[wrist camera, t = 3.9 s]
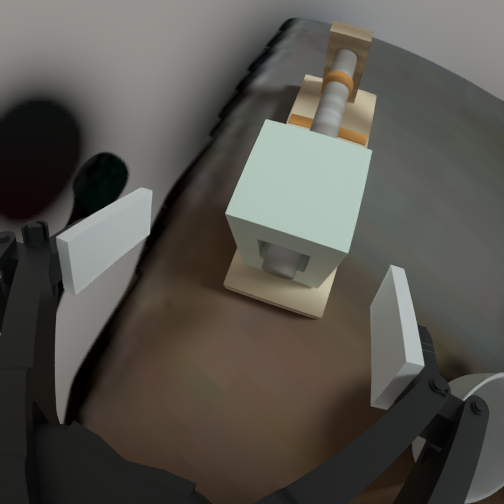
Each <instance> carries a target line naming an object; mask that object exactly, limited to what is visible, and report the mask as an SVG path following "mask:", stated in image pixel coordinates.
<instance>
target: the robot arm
mask: <svg viewBox="0 0 504 504" xmlns="http://www.w3.org/2000/svg"><path fill="white" fill-rule="evenodd" d="M151 205H152V190H148V189H145V188H139V189H138V190H136V191H134V192H132V193H130V194H128V195H126V196H125V197H123V198H121V199H119V200H117V201H115V202H114V203H112V204H110V205H108V206H106V207H105V208H103V209H101V210H99V211H98V212H96V213H94V214H93V215H91V216H89V217H85V218H82V219H79V220H77V221H76V222H74V223H72V225H69V226H67V227H66V228H64V229H62V230H61V231H59V232H58V233H56V234H54V235H53V236H51V237H50V238H49V231H48V223H47V222H45V221H43V220H34V221H30V222H28V223H26V224H24V225H23V226H22V228H21V230H22V236H23V241H24V243H19V242H16V237H15V233H13V232H10V231H4V232H1V233H0V275H1V278H0V333H1V335H0V504H212V503H211V502H210V501H209V500H208V499H207V498H205V497H204V496H203V495H202V494H200V493H199V492H198V491H196V490H195V485H196V483H193V482H191V481H188V480H186V479H183V478H181V477H179V476H176V475H174V474H172V473H169V472H167V471H165V470H163V469H158V468H153V467H149V466H145V465H141V464H137V463H133V462H129V461H127V460H125V459H123V458H122V457H121V456H120V455H119V454H118V453H117V452H116V451H115V450H113V449H112V448H111V447H110V446H109V445H108V444H107V443H106V442H105V441H104V440H103V439H102V438H101V437H100V436H98V435H96V434H95V433H93V432H91V431H90V430H88V429H87V428H85V427H83V426H82V425H80V424H79V423H77V422H76V421H73V423H72V424H71V425H70V426H67V425H63V424H60V422H59V419H58V416H57V411H56V397H55V327H56V311H57V298H58V285H57V283H58V282H59V281H60V280H63V285H64V290H66V291H68V292H70V293H72V294H74V295H77V294H78V293H79V292H81V291H82V290H83V289H84V288H85V287H86V286H87V285H88V284H90V283H91V282H92V281H93V280H94V279H96V278H97V277H98V276H99V275H100V274H102V273H103V272H104V271H105V270H106V269H107V268H109V267H110V266H111V265H112V264H113V263H115V262H116V261H117V260H118V259H120V258H121V257H122V256H123V255H124V254H126V253H127V252H128V251H129V250H131V249H132V248H133V247H134V246H136V245H137V244H138V243H139V242H141V241H142V240H143V239H144V238H146V237H147V236H148V235H149V234H150V224H151ZM370 316H371V406H372V407H376V408H381V409H385V410H388V409H389V407H390V406H391V405H392V404H393V403H394V402H395V406H394V407H393V408H392V409H390V410H389V411H388V412H387V413H386V414H385V415H384V416H383V417H381V418H380V419H379V420H378V421H377V422H376V423H374V424H373V425H372V426H371V427H370V428H368V429H367V430H366V431H365V432H364V433H362V434H361V435H360V436H359V437H357V438H356V439H355V440H353V441H352V442H351V443H350V444H348V445H347V446H346V447H344V448H343V449H342V450H340V451H339V452H338V453H336V454H335V455H334V456H332V457H331V458H329V459H328V460H327V461H325V462H324V463H322V464H321V465H319V466H318V467H316V468H315V469H313V470H312V471H310V472H309V473H307V474H306V475H304V476H303V477H301V478H300V479H298V480H296V481H295V482H293V483H292V484H290V485H288V486H287V487H285V488H283V489H280V490H278V491H276V492H274V493H272V494H270V495H268V496H266V497H264V498H263V499H261V500H259V501H257V502H255V503H253V504H347V503H348V502H350V501H351V500H352V499H353V498H354V497H356V496H357V495H358V494H359V493H360V492H361V491H363V490H364V489H365V488H366V487H367V486H368V485H369V484H371V483H372V482H373V481H374V480H375V479H376V478H377V477H378V476H379V475H380V474H381V473H382V472H383V471H385V470H386V469H387V468H388V467H389V466H390V465H391V464H392V463H393V462H394V461H395V460H396V459H397V458H398V457H399V456H400V455H401V454H402V453H403V451H404V450H405V449H406V448H407V447H408V446H409V445H410V444H411V443H412V442H413V441H414V440H415V439H416V437H417V436H420V437H421V438H423V439H425V440H426V442H425V444H424V446H423V448H422V450H421V452H420V454H419V456H418V459H417V461H416V463H415V465H414V467H413V468H412V470H411V472H410V474H409V476H408V478H407V480H406V482H405V484H404V485H403V487H402V489H401V491H400V492H399V494H398V496H397V498H396V499H395V501H394V503H393V504H464V503H465V500H466V497H467V495H468V492H469V489H470V486H471V483H472V480H473V477H474V474H475V471H476V467H477V464H478V461H479V457H480V453H481V450H482V446H483V442H484V438H485V433H486V429H487V424H488V419H489V408H488V405H487V404H486V402H485V401H484V400H483V399H482V398H481V397H479V396H477V395H471V396H469V397H468V398H467V399H466V400H465V401H463V400H461V399H459V398H457V397H456V396H454V395H452V394H451V388H450V386H449V384H448V382H447V381H446V380H445V379H444V378H443V377H441V376H440V375H439V372H438V367H437V362H436V357H435V353H434V347H433V343H432V338H431V335H430V334H429V332H428V331H427V329H426V327H423V326H419V325H417V322H416V317H415V313H414V308H413V304H412V300H411V295H410V291H409V287H408V283H407V279H406V275H405V272H404V269H402V268H399V267H396V266H393V265H390V267H389V269H388V272H387V274H386V276H385V278H384V280H383V282H382V284H381V286H380V288H379V290H378V292H377V294H376V296H375V298H374V300H373V302H372V304H371V306H370Z"/></svg>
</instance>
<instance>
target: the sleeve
mask: <svg viewBox="0 0 504 504" xmlns="http://www.w3.org/2000/svg"><path fill="white" fill-rule="evenodd" d="M371 153H372V150H369V149H366V148H363V147H360V146H357V145H354V144H351V143H348V142H345V141H342V140H339V139H336V138H333V137H329V136H326V135H323V134H319V133H316V132H313V131H309V130H306V129H302V128H298V127H295V126H291V125H287V124H283V123H279V122H275V121H271V120H267V119H266V120H265V122H264V125H263V127H262V129H261V131H260V134H259V136H258V138H257V140H256V143H255V145H254V147H253V149H252V152H251V154H250V156H249V159H248V161H247V163H246V165H245V168H244V170H243V172H242V175H241V177H240V179H239V182H238V184H237V186H236V189H235V191H234V194H233V196H232V198H231V201H230V203H229V205H228V208H227V210H226V213H225V215H226V218H227V220H228V223H229V226H230V228H231V231H232V234H233V237H234V239H235V242H236V245H237V248H238V250H239V253H240V256H241V258H242V261H243V264H245V265H248V266H251V267H254V268H257V269H260V270H263V269H262V268H261V267H262V264H263V261H264V259H265V256H266V253H267V250H268V248H269V245H270V243H271V244H274V245H277V246H280V247H283V248H286V249H289V250H292V251H295V252H299V253H302V256H301V259H300V262H299V265H298V268H297V271H296V274H295V277H294V279H292V280H293V281H296V282H299V283H302V284H305V285H308V286H311V287H314V288H317V289H318V288H319V287H320V286H321V285H322V283H323V282H324V281H325V280H326V279H327V278H328V277H329V275H330V274H331V273H332V272H333V271H334V269H335V268H336V267H337V266H338V265H339V264H340V262H341V261H342V260H343V259H344V258H345V256H346V255H347V254H348V252H349V248H350V244H351V241H352V237H353V233H354V229H355V225H356V221H357V217H358V213H359V209H360V204H361V200H362V196H363V191H364V187H365V182H366V178H367V173H368V168H369V163H370V159H371ZM263 271H264V270H263Z"/></svg>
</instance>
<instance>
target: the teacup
mask: <svg viewBox="0 0 504 504" xmlns="http://www.w3.org/2000/svg"><path fill="white" fill-rule="evenodd" d="M448 384H449V386H450V388H451V394H452V395H454V396H456V397H457V398H459V399H461V400H463V401H465V400H466V399H467V398H468V397H469V396H471V395H477V396H479V397H481V398H482V399H483V400H484V401H485V402H486V404H487V405H488V408H489V419H488V424H487V429H486V433H485V438H484V442H483V446H482V450H481V453H480V457H479V461H478V464H477V467H476V471H475V474H474V477H473V480H472V483H471V486H470V489H469V492H468V495H467V497H466V500H465V503H464V504H467V503H473V502H477V501H480V500H482V499H484V498H487V497H489V496H490V495H492V494H494V493H495V492H497V491H498V490H499V489H500V488H502V487H503V486H504V372H499V373H496V374H491V373H481V374H470V375H465V376H462V377H459V378H456V379H454V380H452V381H450V382H449V383H448ZM425 442H426V440H425V439H423V438H421V437H420V436H417V437H416V439H415V440H414V441H413V442H412V452H413V457H414V461H415V463H416V461H417V459H418V456H419V454H420V452H421V450H422V448H423V446H424V444H425Z"/></svg>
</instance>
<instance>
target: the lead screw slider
mask: <svg viewBox="0 0 504 504" xmlns="http://www.w3.org/2000/svg"><path fill="white" fill-rule="evenodd" d="M372 34H373V32H372V31H369V30H366V29H363V28H359V27H355V26H352V25H348V24H344V23H341V22H337V21H334V22H333V24H332V27H331V29H330V34H329V41H328V49H327V55H326V62H325V69H324V76H323V79H322V78H318V77H314V76H310V75H306V76H305V78H304V81H303V83H302V86H301V88H300V90H299V93H298V95H297V98H296V100H295V103H294V105H293V108H292V110H291V113H290V115H289V118H288V120H287V122H286V124H287V125H291V126H295V127H298V128H302V129H306V130H309V131H313V132H316V133H319V134H323V135H326V136H329V137H333V138H336V139H339V140H342V141H345V142H348V143H351V144H354V145H357V146H360V147H363V148H366V149H367V145H368V140H369V135H370V129H371V124H372V119H373V113H374V108H375V102H376V96H377V95H374V94H371V93H368V92H365V91H362V90H359V89H358V88H359V85H360V81H361V77H362V74H363V70H364V67H365V63H366V59H367V56H368V52H369V48H370V44H371V40H372ZM301 256H302V253H299V252H295V251H292V250H289V249H286V248H283V247H280V246H277V245H274V244H271V243H270V245H269V248H268V250H267V253H266V256H265V259H264V261H263V264H262V267H261V268H262V269H263V270H264V271H263V270H260V269H257V268H254V267H251V266H248V265H245V264H243V261H242V258H241V256H240V253H239V250H238V248H237V249H236V252H235V255H234V257H233V260H232V262H231V265H230V268H229V270H228V273H227V276H226V278H225V281H224V283H223V285H224V286H225V287H226V289H229V290H232V291H234V292H237V293H240V294H243V295H246V296H249V297H251V298H254V299H257V300H260V301H263V302H266V303H269V304H272V305H275V306H278V307H281V308H284V309H286V310H289V311H292V312H295V313H299V314H302V315H305V316H308V317H311V318H314V319H317V320H318V319H321V318H322V315H323V312H324V309H325V306H326V302H327V299H328V296H329V293H330V290H331V286H332V283H333V280H334V276H335V273H336V270H337V267H336V268H335V269H334V271H333V272H332V273H331V274H330V275H329V277H328V278H327V279H326V280H325V281H324V282H323V283H322V285H321V286H320V287H319V288H318V289H317V288H314V287H311V286H308V285H305V284H302V283H299V282H296V281H293V280H292V279H294V277H295V274H296V271H297V268H298V265H299V262H300V259H301Z"/></svg>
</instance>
